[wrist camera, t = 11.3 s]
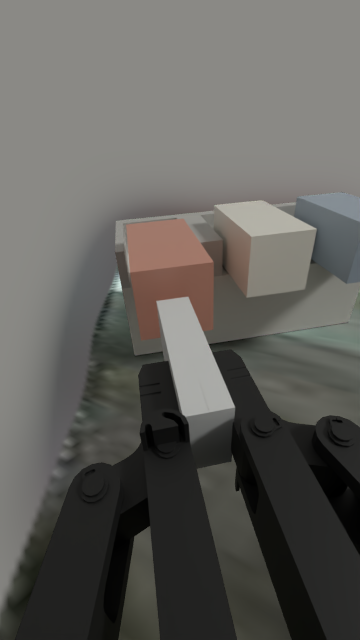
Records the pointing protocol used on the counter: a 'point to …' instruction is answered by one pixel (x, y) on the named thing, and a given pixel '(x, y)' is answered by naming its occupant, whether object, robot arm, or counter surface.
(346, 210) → the blue-grey rectangular block
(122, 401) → the counter surface
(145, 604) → the counter surface
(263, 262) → the ivory key
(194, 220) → the grey slotted rack
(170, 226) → the terracotta key
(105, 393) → the counter surface
